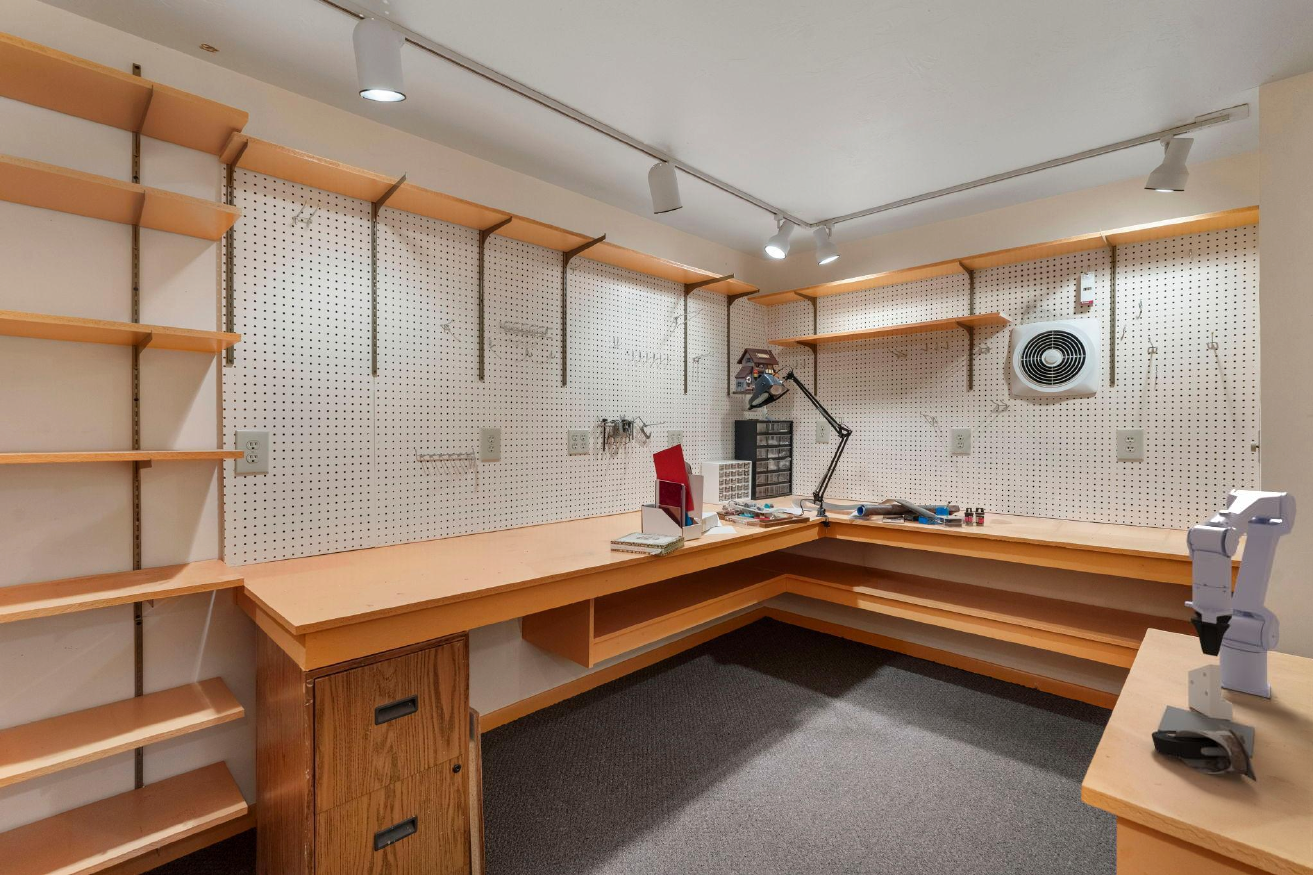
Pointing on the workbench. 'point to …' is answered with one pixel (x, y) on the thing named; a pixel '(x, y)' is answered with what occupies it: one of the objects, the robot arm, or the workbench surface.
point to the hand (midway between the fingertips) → (1211, 650)
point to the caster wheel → (1207, 750)
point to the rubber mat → (1202, 724)
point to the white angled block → (1208, 692)
